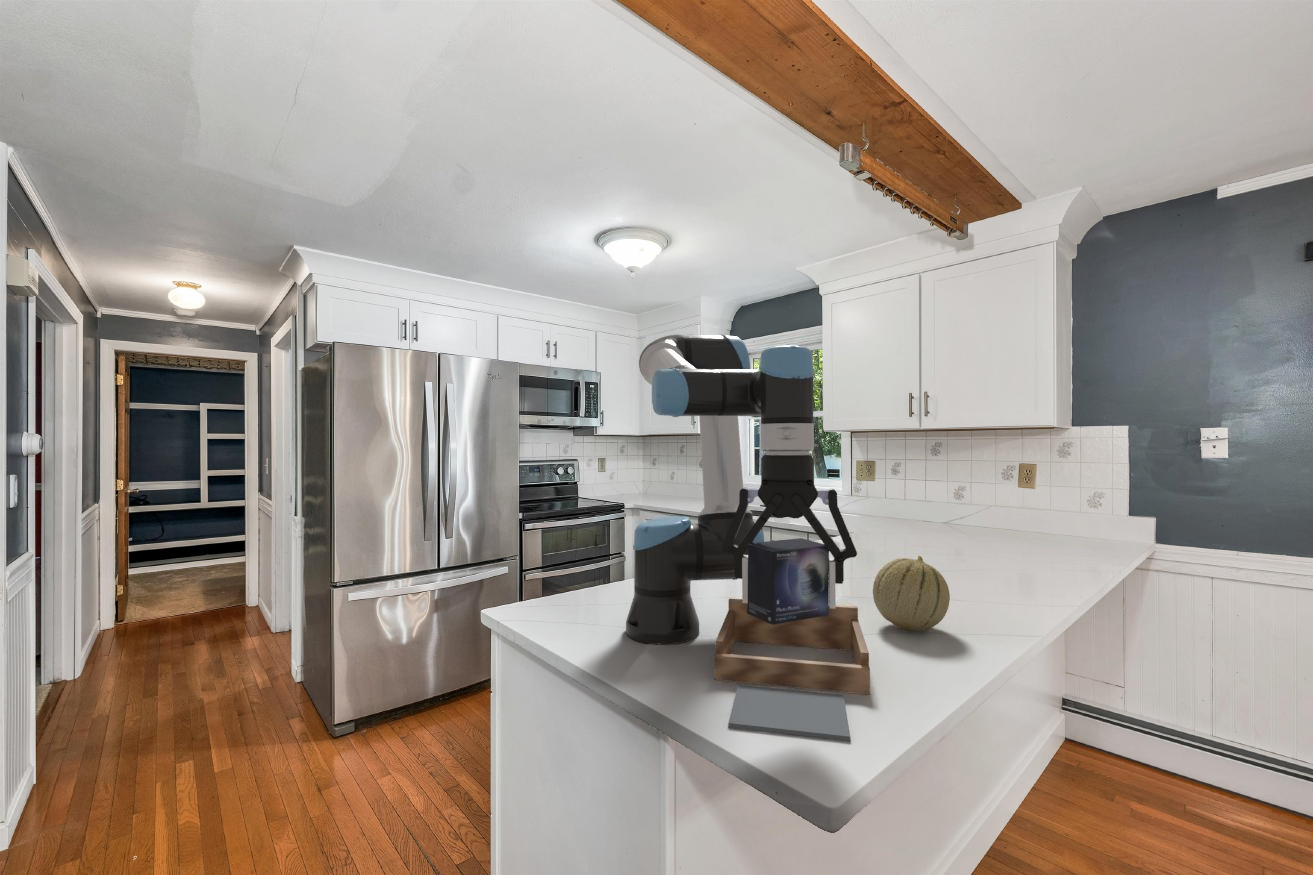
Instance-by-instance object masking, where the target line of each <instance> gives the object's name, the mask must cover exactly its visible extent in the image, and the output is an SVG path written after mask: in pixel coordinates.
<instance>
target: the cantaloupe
mask: <svg viewBox="0 0 1313 875" xmlns="http://www.w3.org/2000/svg"><path fill="white" fill-rule="evenodd" d="M923 560H924V559H923V557H922V556H921V555H918V556H917V559H913V558H907V557H906V558H905V557H902V558H900V557H899V558H896V559H893V560H891V561H889V562H887V563H886V564H885V565H883V567H882V568H880V570H878V571H877V574H876V576H875V578H874V581H873V586H872V596H873V602H874V605H875V606H876V609H877V610H878V612H879V614H881V616H882V617H883V619H885V620H886V621H887V622H890V624H893V625H894V626H896V627H898V628H900V629H901V630H902V629H903V630H905V631H906V630H908V631H914V632H918V631H919V632H920V631H925V630H926V631H927V630H929V629H931V628H934V627H936V626H937V625H939V624H940V622H942V620H943V619H944V618H945V617H946V614H947V612H948V610H949V606H950V599H951V598H950V596H951V595H950V590H949V586H948V583H947V581H946V579H945V577H944V576H943V575H942V573H940V571H939V570H937V569H936V568H935V567H934V566H933V565H930V564H928V563H926V562H925V561H923Z"/></svg>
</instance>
